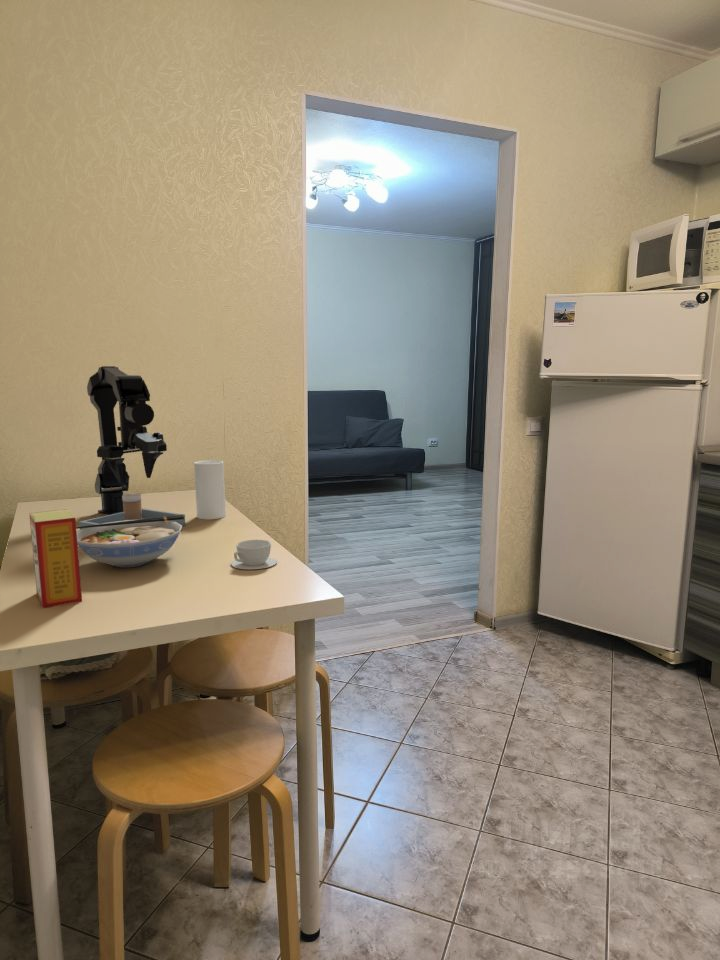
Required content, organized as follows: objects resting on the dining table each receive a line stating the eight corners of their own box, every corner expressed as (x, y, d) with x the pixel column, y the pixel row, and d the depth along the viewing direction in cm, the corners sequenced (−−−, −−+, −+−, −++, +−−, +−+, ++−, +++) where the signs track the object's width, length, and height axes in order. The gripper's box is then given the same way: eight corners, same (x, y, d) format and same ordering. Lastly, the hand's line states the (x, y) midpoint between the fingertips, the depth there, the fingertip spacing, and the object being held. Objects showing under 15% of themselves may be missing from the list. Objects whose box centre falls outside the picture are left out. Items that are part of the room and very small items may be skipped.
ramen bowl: (67, 585, 129) (63, 545, 128) (70, 556, 150) (67, 521, 149) (196, 570, 139) (194, 532, 137) (182, 544, 159) (180, 511, 158)
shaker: (120, 526, 176) (118, 495, 174) (135, 523, 180) (133, 492, 178) (132, 528, 173) (130, 497, 172) (147, 525, 177) (144, 494, 176)
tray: (79, 532, 173) (79, 521, 172) (141, 518, 189) (140, 508, 189) (125, 541, 163) (124, 529, 163) (185, 525, 180) (184, 514, 180)
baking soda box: (36, 593, 125) (29, 511, 122) (73, 587, 128) (66, 507, 126) (43, 608, 117) (34, 520, 114) (82, 601, 120) (75, 515, 118)
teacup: (258, 555, 150) (257, 535, 149) (286, 564, 143) (286, 543, 142) (221, 565, 142) (220, 544, 142) (250, 574, 136) (249, 552, 135)
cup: (229, 513, 195) (227, 460, 192) (220, 519, 187) (218, 463, 184) (202, 513, 196) (199, 460, 193) (192, 519, 188) (189, 463, 185)
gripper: (121, 427, 163) (125, 488, 166) (179, 421, 179) (181, 478, 182) (93, 425, 169) (97, 484, 172) (151, 420, 185) (154, 474, 187)
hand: (134, 480), depth 178 cm, fingers open, 9 cm apart
